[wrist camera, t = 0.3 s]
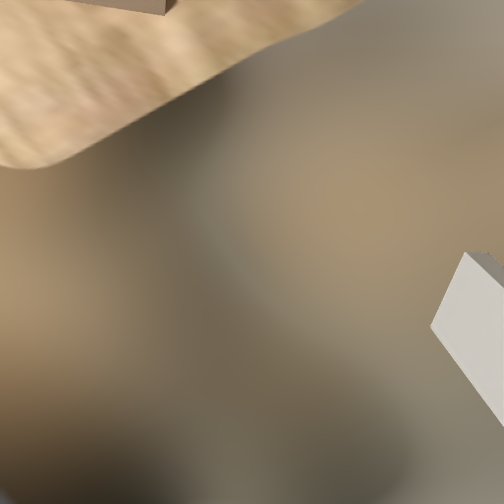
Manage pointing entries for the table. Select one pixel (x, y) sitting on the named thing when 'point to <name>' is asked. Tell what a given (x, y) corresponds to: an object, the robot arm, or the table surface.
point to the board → (131, 5)
